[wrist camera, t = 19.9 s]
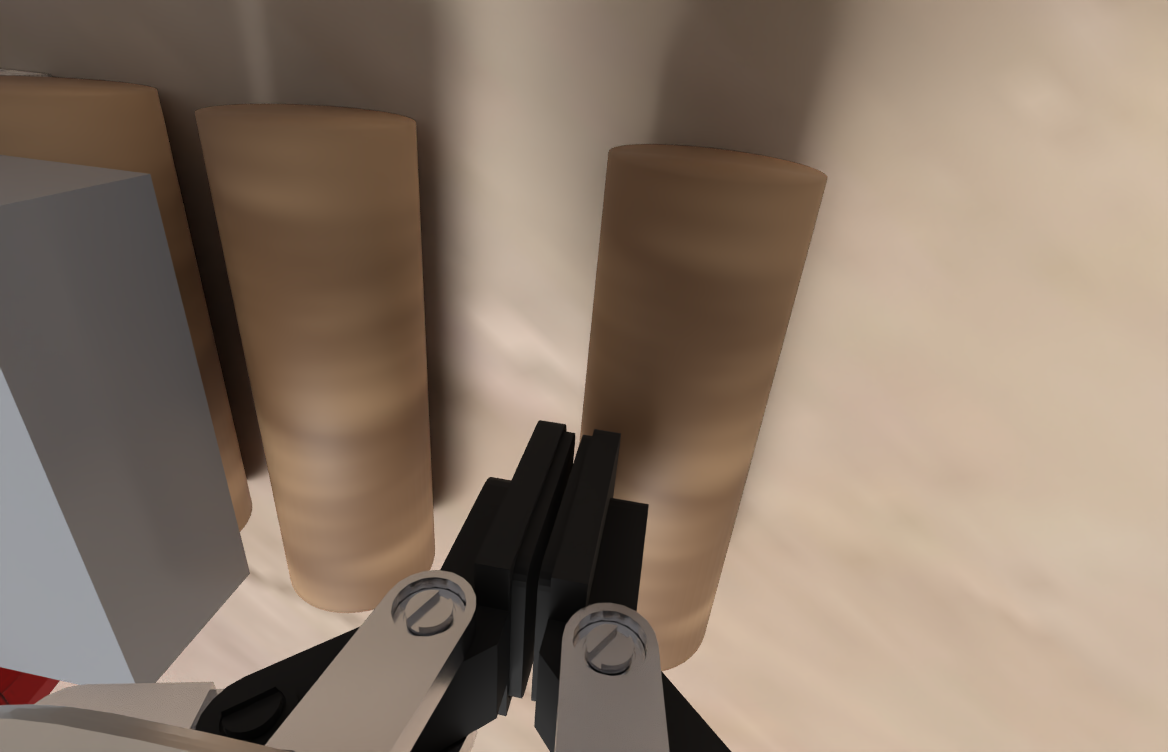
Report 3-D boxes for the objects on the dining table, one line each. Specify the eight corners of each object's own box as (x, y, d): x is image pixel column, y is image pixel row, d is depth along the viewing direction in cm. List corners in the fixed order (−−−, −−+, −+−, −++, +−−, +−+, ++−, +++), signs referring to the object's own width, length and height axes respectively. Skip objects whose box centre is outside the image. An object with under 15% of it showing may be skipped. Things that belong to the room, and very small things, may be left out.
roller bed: (807, 158, 13) (850, 196, 9) (704, 568, 18) (707, 687, 15) (46, 74, 15) (-158, 78, 11) (168, 471, 20) (58, 557, 17)
